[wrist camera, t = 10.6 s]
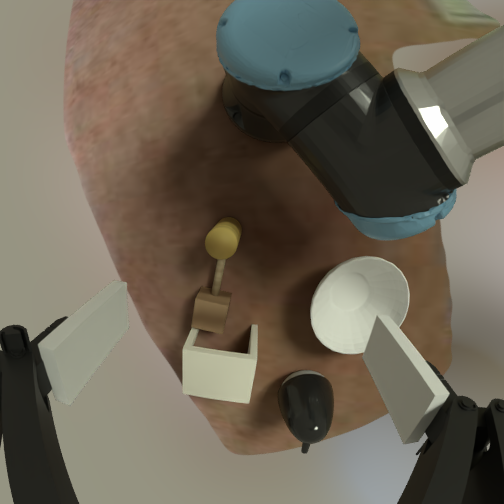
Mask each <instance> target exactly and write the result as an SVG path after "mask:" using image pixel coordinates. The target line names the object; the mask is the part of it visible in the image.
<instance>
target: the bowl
mask: <svg viewBox="0 0 504 504" xmlns="http://www.w3.org/2000/svg"><path fill="white" fill-rule="evenodd" d="M409 296H410V293H409V288H408V283H407V281H406V279H405V277H404V275H403V273H402V272H401V271H400V270H399V269H398V268H397V267H396V266H395V265H394V264H393V263H390V262H388V261H386V260H384V259H382V258H379V257H372V256H363V257H356V258H351V259H349V260H347V261H344V262H342V263H340V264H338V265H337V266H336V267H334V268H333V269H332V270H330V271H329V272H328V273H327V274H326V275H325V277H324V278H323V279H322V280H321V281H320V283H319V285H318V287H317V289H316V291H315V293H314V295H313V297H312V302H311V307H310V315H311V325H312V328H313V330H314V333H315V335H316V337H317V338H318V339H319V340H320V342H321V343H322V344H323V345H324V346H326V347H328V348H329V349H331V350H332V351H335V352H339V353H342V354H358V353H363V352H364V351H365V349H366V346H367V343H368V340H369V337H370V334H371V332H372V329H373V326H374V323H375V319H376V316H377V315H385V316H390V318H391V319H392V320H393V321H394V322H395V324H396V325H397V326H398V327H400V326H401V324H402V322H403V320H404V319H405V316H406V313H407V310H408V307H409Z"/></svg>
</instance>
